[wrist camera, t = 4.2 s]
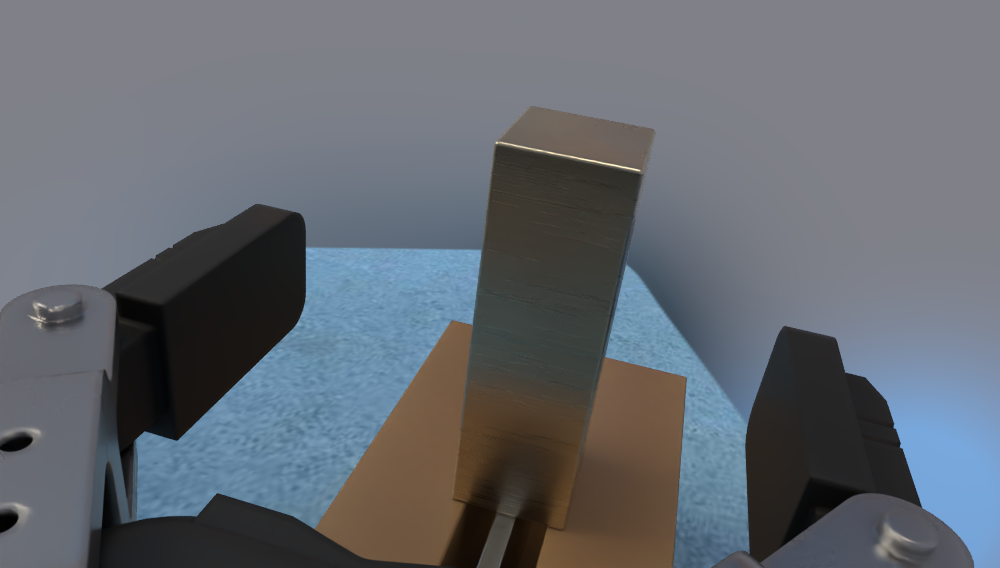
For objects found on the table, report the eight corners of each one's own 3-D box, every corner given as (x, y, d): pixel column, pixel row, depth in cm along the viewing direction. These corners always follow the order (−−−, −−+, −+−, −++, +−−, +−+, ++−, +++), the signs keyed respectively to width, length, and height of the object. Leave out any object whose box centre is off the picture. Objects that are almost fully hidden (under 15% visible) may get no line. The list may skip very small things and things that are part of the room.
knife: (392, 740, 18) (441, 194, 11) (492, 488, 26) (555, 78, 19) (505, 779, 17) (625, 233, 11) (571, 510, 25) (665, 98, 19)
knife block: (250, 812, 17) (238, 641, 14) (437, 453, 28) (451, 318, 25) (595, 944, 16) (658, 784, 13) (647, 512, 27) (687, 376, 24)
